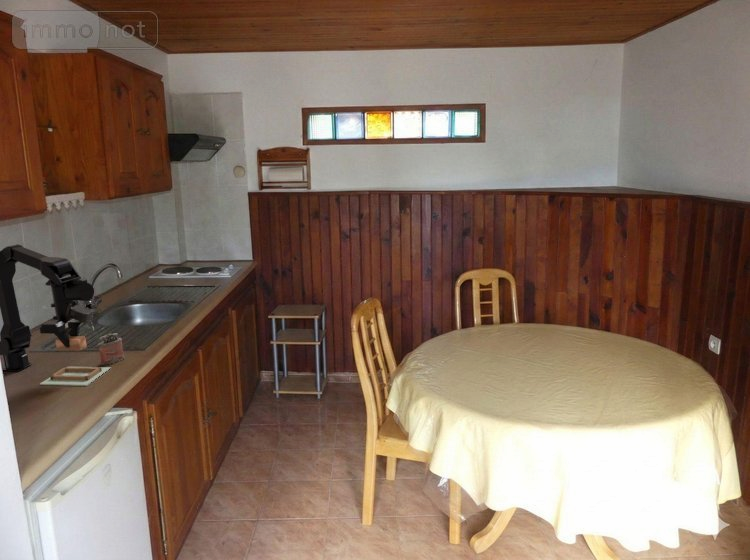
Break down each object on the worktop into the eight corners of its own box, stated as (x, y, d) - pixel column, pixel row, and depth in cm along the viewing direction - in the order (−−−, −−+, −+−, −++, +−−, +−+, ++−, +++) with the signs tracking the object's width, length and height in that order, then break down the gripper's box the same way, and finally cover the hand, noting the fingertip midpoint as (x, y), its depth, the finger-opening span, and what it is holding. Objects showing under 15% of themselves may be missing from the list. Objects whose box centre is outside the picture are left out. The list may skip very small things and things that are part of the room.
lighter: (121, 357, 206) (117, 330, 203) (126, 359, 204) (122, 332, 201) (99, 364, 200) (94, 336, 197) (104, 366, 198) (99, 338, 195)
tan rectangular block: (80, 350, 185) (78, 340, 185) (57, 350, 186) (55, 339, 186) (86, 346, 189) (85, 336, 188) (64, 346, 190) (62, 336, 189)
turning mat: (39, 384, 184) (39, 380, 184) (67, 367, 198) (66, 363, 197) (86, 385, 182) (85, 381, 182) (111, 368, 196) (110, 364, 195)
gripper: (68, 307, 174) (76, 356, 177) (104, 291, 192) (110, 335, 195) (34, 307, 175) (43, 355, 179) (72, 291, 193) (80, 335, 197)
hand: (71, 345), depth 187 cm, fingers closed on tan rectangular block, 3 cm apart
